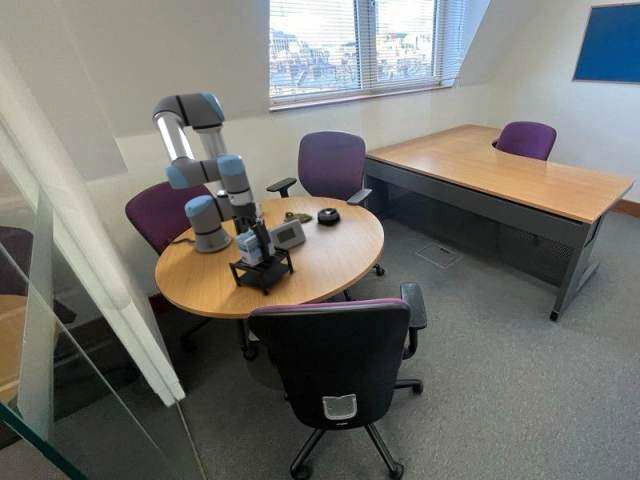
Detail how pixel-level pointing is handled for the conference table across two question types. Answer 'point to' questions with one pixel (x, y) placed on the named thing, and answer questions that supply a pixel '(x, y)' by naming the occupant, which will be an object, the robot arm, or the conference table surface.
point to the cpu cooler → (328, 216)
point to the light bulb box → (252, 247)
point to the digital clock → (288, 234)
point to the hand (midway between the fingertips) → (259, 256)
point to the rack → (263, 270)
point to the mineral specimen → (258, 210)
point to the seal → (297, 217)
